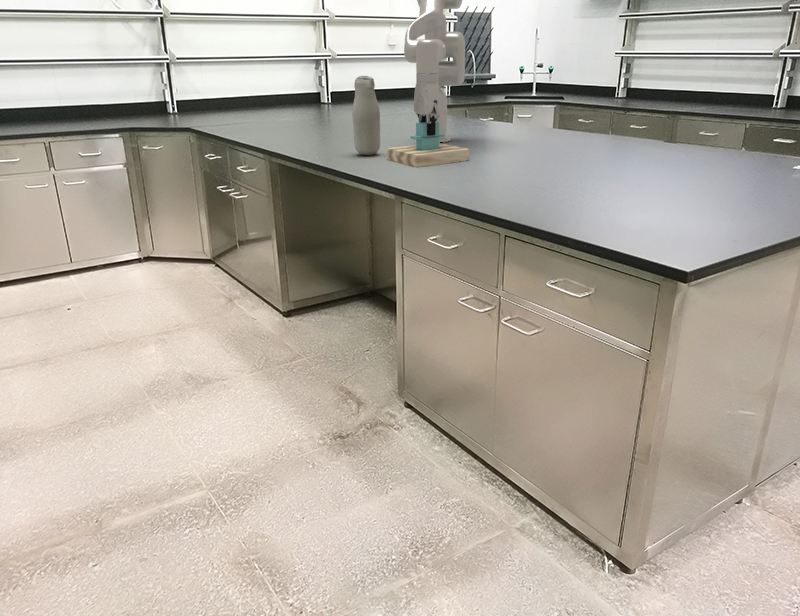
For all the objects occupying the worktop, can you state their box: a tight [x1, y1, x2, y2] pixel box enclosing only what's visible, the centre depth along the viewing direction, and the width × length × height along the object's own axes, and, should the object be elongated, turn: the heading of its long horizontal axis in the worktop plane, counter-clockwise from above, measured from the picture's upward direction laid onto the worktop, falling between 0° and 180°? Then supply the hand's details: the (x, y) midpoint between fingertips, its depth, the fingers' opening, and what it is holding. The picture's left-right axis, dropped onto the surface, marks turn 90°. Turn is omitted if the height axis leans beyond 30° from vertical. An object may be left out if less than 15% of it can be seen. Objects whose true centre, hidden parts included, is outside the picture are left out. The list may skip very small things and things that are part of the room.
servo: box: [410, 121, 444, 150], centre depth 220 cm, size 4×12×10 cm, turn 121°
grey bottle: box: [351, 75, 381, 156], centre depth 231 cm, size 10×10×28 cm
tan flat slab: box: [386, 143, 471, 168], centre depth 223 cm, size 20×22×4 cm
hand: (427, 134), depth 220 cm, fingers closed on servo, 4 cm apart
